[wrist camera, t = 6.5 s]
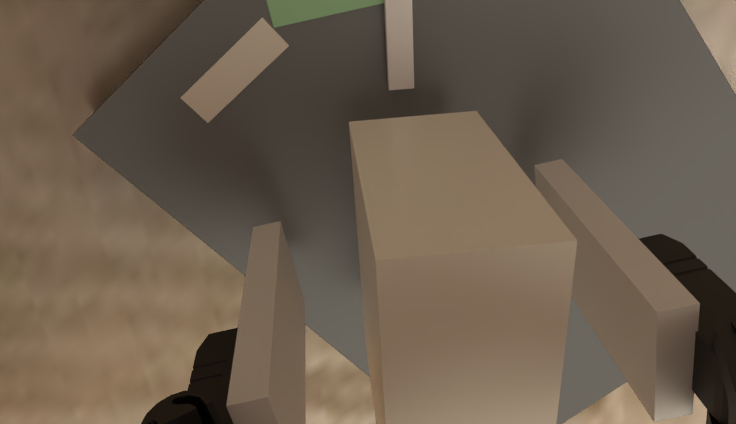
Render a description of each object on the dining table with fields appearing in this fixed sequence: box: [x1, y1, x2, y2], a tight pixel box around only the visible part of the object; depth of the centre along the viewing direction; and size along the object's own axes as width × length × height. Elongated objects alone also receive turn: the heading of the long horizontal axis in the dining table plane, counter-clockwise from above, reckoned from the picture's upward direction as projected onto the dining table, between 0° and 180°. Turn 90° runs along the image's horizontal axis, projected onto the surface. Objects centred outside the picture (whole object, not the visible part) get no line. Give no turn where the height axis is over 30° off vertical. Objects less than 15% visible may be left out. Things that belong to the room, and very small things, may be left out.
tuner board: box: [73, 0, 736, 424], centre depth 20 cm, size 20×15×2 cm
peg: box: [349, 0, 577, 424], centre depth 14 cm, size 3×12×9 cm, turn 3°
